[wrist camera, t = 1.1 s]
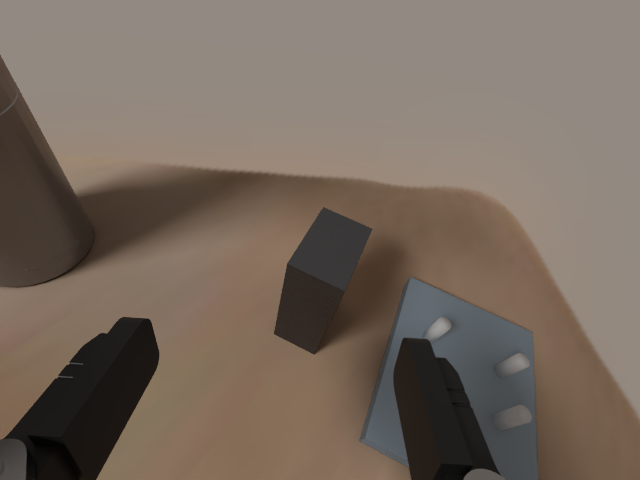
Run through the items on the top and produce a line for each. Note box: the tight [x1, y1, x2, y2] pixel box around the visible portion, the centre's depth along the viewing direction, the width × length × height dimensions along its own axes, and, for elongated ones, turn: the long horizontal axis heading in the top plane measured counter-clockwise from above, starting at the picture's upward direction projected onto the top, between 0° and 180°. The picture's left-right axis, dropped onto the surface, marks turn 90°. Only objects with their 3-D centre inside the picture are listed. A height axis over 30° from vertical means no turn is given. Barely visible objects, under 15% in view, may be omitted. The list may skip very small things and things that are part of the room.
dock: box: [360, 277, 538, 480], centre depth 27 cm, size 13×16×4 cm
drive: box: [274, 207, 372, 354], centre depth 26 cm, size 4×6×11 cm, turn 157°
